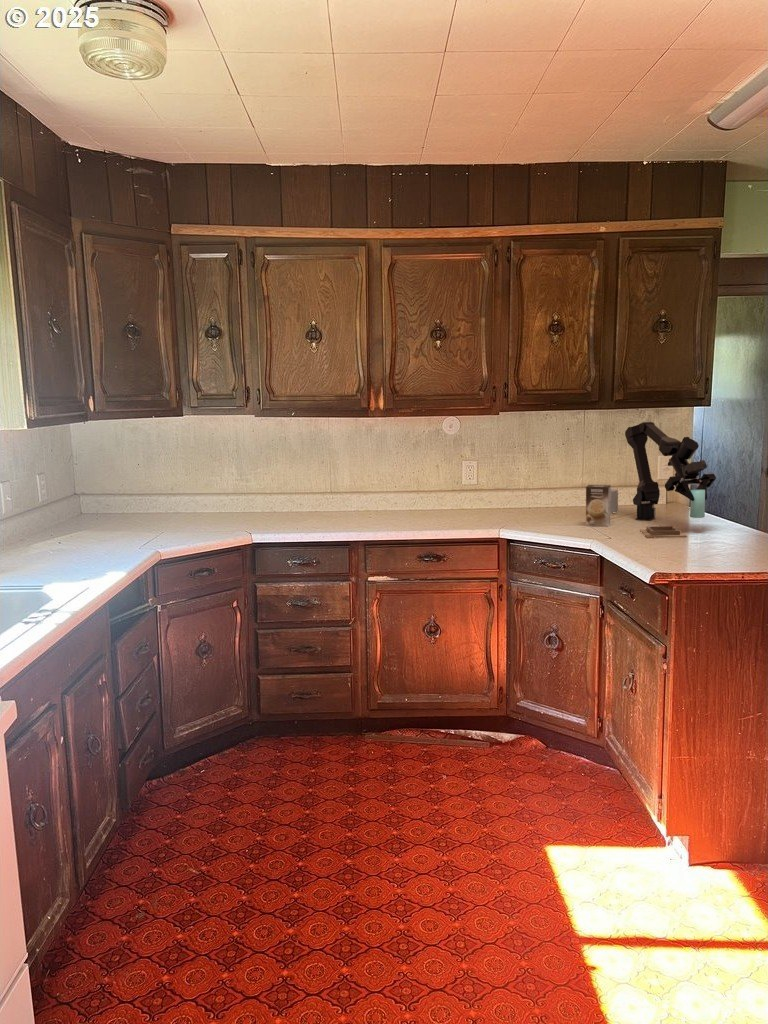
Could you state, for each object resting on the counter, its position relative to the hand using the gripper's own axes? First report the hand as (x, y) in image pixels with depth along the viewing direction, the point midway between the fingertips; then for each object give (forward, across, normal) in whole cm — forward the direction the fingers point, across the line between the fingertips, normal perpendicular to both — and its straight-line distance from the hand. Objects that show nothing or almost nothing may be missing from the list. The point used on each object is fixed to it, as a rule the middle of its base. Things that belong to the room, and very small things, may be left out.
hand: (699, 499), depth 283 cm
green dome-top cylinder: (+4, 0, +6) cm, 7 cm away
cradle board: (+6, -13, +11) cm, 18 cm away
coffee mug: (-33, -3, +52) cm, 62 cm away
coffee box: (-14, -24, +32) cm, 42 cm away
